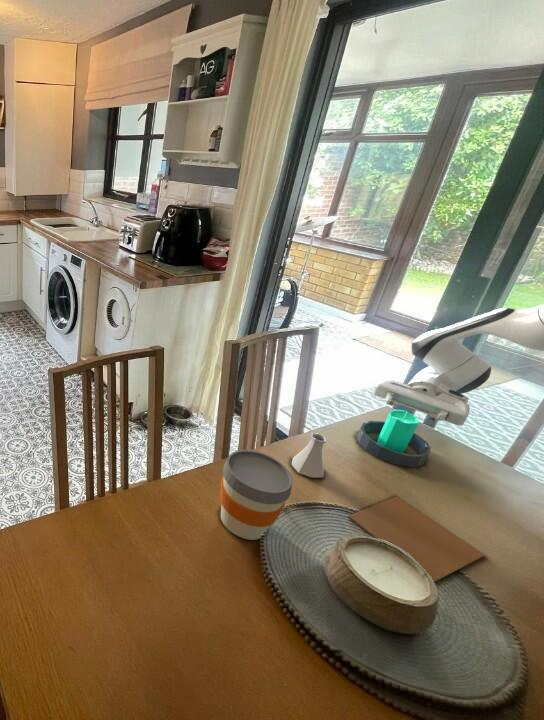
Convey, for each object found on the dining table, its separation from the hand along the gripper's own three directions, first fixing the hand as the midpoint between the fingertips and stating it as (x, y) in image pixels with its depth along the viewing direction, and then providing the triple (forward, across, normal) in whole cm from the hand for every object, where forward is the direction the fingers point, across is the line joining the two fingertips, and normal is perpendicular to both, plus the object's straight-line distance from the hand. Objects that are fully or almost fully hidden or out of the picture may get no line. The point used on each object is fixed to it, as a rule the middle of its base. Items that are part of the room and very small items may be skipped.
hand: (411, 410), depth 113 cm
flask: (+36, -11, +8) cm, 38 cm away
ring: (+10, 0, +8) cm, 13 cm away
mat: (+40, +11, +8) cm, 42 cm away
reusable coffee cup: (+64, -12, +8) cm, 66 cm away
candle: (+10, 0, +8) cm, 13 cm away
